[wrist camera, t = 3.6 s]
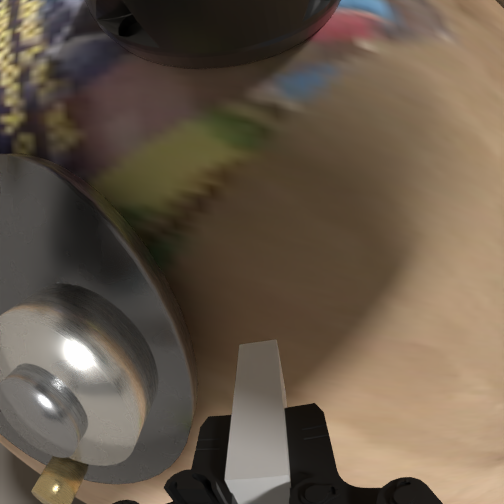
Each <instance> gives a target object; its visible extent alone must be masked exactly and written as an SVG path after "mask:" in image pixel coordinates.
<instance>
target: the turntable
mask: <svg viewBox="0 0 504 504" xmlns="http://www.w3.org/2000/svg"><path fill="white" fill-rule="evenodd" d="M61 283H63V284H72V285H76V286H81V287H83V288H86V289H88V290H91V291H93V292H95V293H97V294H99V295H101V296H102V297H104V298H105V299H107V300H108V301H110V302H111V303H112V304H113V305H115V306H116V307H117V308H118V309H120V310H121V311H122V312H123V313H124V314H125V315H126V316H127V317H128V318H129V319H130V320H131V321H132V323H133V324H134V325H135V326H136V327H137V329H138V330H139V331H140V333H141V334H142V336H143V337H144V339H145V340H146V342H147V344H148V346H149V347H150V350H151V352H152V354H153V356H154V359H155V363H156V366H157V371H158V390H157V394H156V397H155V399H154V402H153V404H152V406H151V409H150V411H149V413H148V416H147V418H146V421H145V423H144V425H143V428H142V430H141V433H140V435H139V437H138V440H137V442H136V445H135V447H134V449H133V451H132V453H131V455H130V456H129V457H128V458H127V459H126V460H124V461H122V462H120V463H118V464H114V465H108V466H98V465H90V464H86V463H81V462H78V461H75V460H72V459H70V458H68V457H67V458H60V457H55V456H52V455H49V454H47V453H45V452H43V451H41V450H39V449H37V448H36V447H34V446H33V445H31V444H30V443H29V442H28V441H26V440H25V439H24V438H23V437H22V436H21V435H20V434H19V433H18V432H17V431H16V430H15V429H14V428H13V427H12V426H11V425H10V423H9V422H8V421H7V419H6V418H5V416H4V415H3V413H2V411H1V409H0V434H1V435H2V436H4V437H5V438H6V439H7V440H8V441H10V442H11V443H12V444H13V445H15V446H16V447H17V448H19V449H20V450H22V451H23V452H25V453H26V454H28V455H29V456H31V457H32V458H34V459H36V460H38V461H39V462H41V463H43V464H45V465H47V466H46V467H45V469H44V471H43V472H42V474H41V476H40V477H39V479H38V481H37V482H36V484H35V486H34V487H33V489H32V493H33V495H34V496H35V497H36V498H37V499H38V500H39V501H41V502H42V503H43V504H71V503H72V501H73V499H74V497H75V495H76V493H77V491H78V489H79V487H80V485H81V483H82V481H83V479H84V480H87V481H92V482H98V483H106V484H127V483H135V482H139V481H143V480H147V479H149V478H152V477H154V476H156V475H159V474H160V473H162V472H163V471H164V470H166V469H167V468H169V467H170V466H171V465H172V464H173V463H174V462H175V460H176V459H177V458H178V457H179V456H180V454H181V452H182V450H183V448H184V447H185V445H186V443H187V439H188V435H189V432H190V428H191V424H192V420H193V416H194V412H195V408H196V404H197V391H198V379H197V367H196V359H195V355H194V351H193V346H192V342H191V338H190V334H189V331H188V328H187V326H186V323H185V320H184V317H183V315H182V312H181V309H180V306H179V304H178V302H177V300H176V298H175V296H174V294H173V292H172V290H171V288H170V286H169V284H168V282H167V280H166V278H165V276H164V274H163V273H162V271H161V270H160V268H159V266H158V265H157V263H156V262H155V260H154V258H153V257H152V255H151V253H150V252H149V250H148V248H147V247H146V246H145V245H144V243H143V242H142V241H141V239H140V238H139V237H138V235H137V234H136V233H135V231H134V230H133V229H132V227H131V226H130V225H129V223H128V222H127V221H126V220H125V219H124V218H123V217H122V216H121V215H120V213H119V212H118V211H117V210H116V209H115V208H114V207H113V206H112V205H111V204H110V203H109V202H108V201H107V199H106V198H104V197H103V196H102V195H101V194H100V193H98V192H97V191H96V190H95V189H94V188H92V187H91V186H90V185H89V184H88V183H87V182H85V181H84V180H83V179H81V178H80V177H78V176H77V175H75V174H73V173H72V172H70V171H69V170H67V169H65V168H64V167H62V166H60V165H58V164H55V163H53V162H51V161H48V160H46V159H43V158H41V157H36V156H31V155H26V154H0V315H2V314H3V313H5V312H6V311H8V310H9V309H11V308H12V307H14V306H15V305H17V304H18V303H20V302H21V301H23V300H24V299H26V298H27V297H29V296H30V295H32V294H34V293H35V292H37V291H38V290H40V289H42V288H44V287H46V286H49V285H52V284H61Z"/></svg>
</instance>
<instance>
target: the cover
mask: <svg viewBox="0 0 504 504" xmlns="http://www.w3.org/2000/svg"><path fill="white" fill-rule="evenodd" d="M157 390H158V371H157V366H156V363H155V359H154V356H153V354H152V352H151V350H150V347H149V346H148V344H147V342H146V340H145V339H144V337H143V336H142V334H141V333H140V331H139V330H138V329H137V327H136V326H135V325H134V324H133V323H132V321H131V320H130V319H129V318H128V317H127V316H126V315H125V314H124V313H123V312H122V311H121V310H120V309H118V308H117V307H116V306H115V305H113V304H112V303H111V302H110V301H108V300H107V299H105V298H104V297H102V296H101V295H99V294H97V293H95V292H93V291H91V290H88V289H86V288H83V287H81V286H76V285H72V284H63V283H61V284H52V285H49V286H46V287H44V288H42V289H40V290H38V291H37V292H35V293H34V294H32V295H30V296H29V297H27V298H26V299H24V300H23V301H21V302H20V303H18V304H17V305H15V306H14V307H12V308H11V309H9V310H8V311H6V312H5V313H3V314H2V315H0V409H1V411H2V413H3V415H4V416H5V418H6V419H7V421H8V422H9V423H10V425H11V426H12V427H13V428H14V429H15V430H16V431H17V432H18V433H19V434H20V435H21V436H22V437H23V438H24V439H25V440H26V441H28V442H29V443H30V444H31V445H33V446H34V447H36V448H37V449H39V450H41V451H43V452H45V453H47V454H49V455H52V456H55V457H60V458H67V457H68V458H70V459H72V460H75V461H78V462H81V463H86V464H90V465H98V466H108V465H114V464H118V463H120V462H122V461H124V460H126V459H127V458H128V457H129V456H130V455H131V453H132V451H133V449H134V447H135V445H136V442H137V440H138V437H139V435H140V433H141V430H142V428H143V425H144V423H145V421H146V418H147V416H148V413H149V411H150V409H151V406H152V404H153V402H154V399H155V397H156V394H157Z"/></svg>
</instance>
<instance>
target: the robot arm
mask: <svg viewBox="0 0 504 504" xmlns="http://www.w3.org/2000/svg"><path fill="white" fill-rule="evenodd" d="M340 1H341V0H86V2H87V5H88V8H89V11H90V13H91V15H92V16H93V18H94V19H95V21H96V22H97V24H98V25H99V26H100V27H101V29H102V30H103V31H104V32H105V33H107V34H108V35H109V36H110V37H111V38H113V39H114V40H115V41H116V42H117V43H119V44H120V45H121V46H122V47H124V48H125V49H126V50H128V51H130V52H131V53H133V54H135V55H137V56H139V57H141V58H143V59H146V60H148V61H152V62H155V63H158V64H162V65H167V66H173V67H180V68H194V69H207V68H221V67H230V66H236V65H241V64H246V63H251V62H254V61H258V60H262V59H265V58H268V57H271V56H273V55H276V54H279V53H281V52H283V51H286V50H288V49H290V48H292V47H294V46H296V45H298V44H299V43H301V42H303V41H304V40H306V39H307V38H309V37H310V36H311V35H313V34H314V33H315V32H317V31H318V30H319V29H320V28H321V27H322V26H323V25H324V24H325V23H326V22H327V21H328V20H329V19H330V18H331V16H332V15H333V13H334V12H335V10H336V9H337V7H338V5H339V3H340ZM496 1H497V2H498V3H499V4H500V5H501V6H502V7H503V8H504V0H496ZM164 489H165V490H166V492H167V493H168V494H169V496H170V497H171V498H172V500H173V502H170V503H167V504H443V503H442V502H441V501H440V500H439V499H438V498H437V496H436V495H435V494H434V493H433V492H432V491H431V489H430V488H429V487H428V486H427V485H426V484H425V483H423V482H422V481H421V480H419V479H415V478H412V477H405V478H398V479H395V480H393V481H390V482H389V483H388V484H386V485H385V486H383V487H382V488H360V487H355V486H352V485H349V484H348V483H346V482H345V481H343V480H342V479H341V477H340V476H339V474H338V472H337V468H336V464H335V459H334V455H333V450H332V446H331V442H330V437H329V433H328V429H327V425H326V420H325V416H324V412H323V411H322V410H321V409H320V408H319V407H318V406H317V405H316V404H315V403H312V404H307V405H301V406H295V407H288V408H287V401H286V391H285V385H284V379H283V373H282V367H281V361H280V355H279V350H278V344H277V339H274V340H268V341H261V342H254V343H247V344H240V345H239V353H238V362H237V371H236V380H235V389H234V398H233V407H232V415H225V416H210V417H208V418H207V419H206V421H205V422H204V423H203V425H202V426H201V427H200V432H199V436H198V441H197V446H196V451H195V455H194V460H193V464H192V469H191V470H183V471H181V472H179V473H176V474H174V475H173V476H172V477H171V478H170V479H168V480H167V482H166V484H165V486H164ZM113 504H139V503H137V502H136V501H131V500H122V501H118V502H115V503H113Z"/></svg>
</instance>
